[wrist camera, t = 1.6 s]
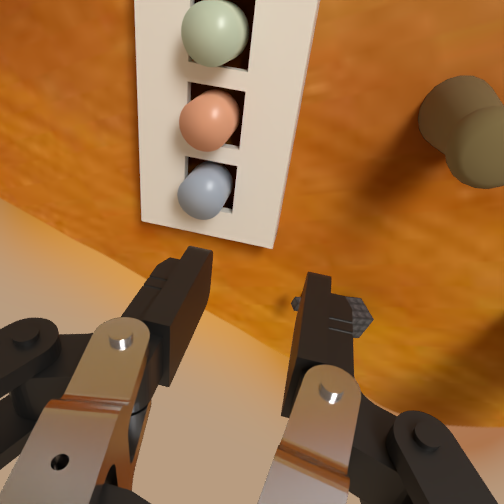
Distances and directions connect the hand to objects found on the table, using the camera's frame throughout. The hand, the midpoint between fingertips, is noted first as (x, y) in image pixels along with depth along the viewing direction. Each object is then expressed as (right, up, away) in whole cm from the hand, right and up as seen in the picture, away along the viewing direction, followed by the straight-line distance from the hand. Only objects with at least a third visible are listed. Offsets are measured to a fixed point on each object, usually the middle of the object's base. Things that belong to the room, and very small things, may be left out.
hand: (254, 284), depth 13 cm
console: (-3, +14, +24) cm, 28 cm away
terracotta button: (-3, +13, +23) cm, 26 cm away
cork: (+17, +13, +21) cm, 30 cm away
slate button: (-4, +8, +26) cm, 28 cm away
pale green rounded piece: (-2, +19, +19) cm, 27 cm away
